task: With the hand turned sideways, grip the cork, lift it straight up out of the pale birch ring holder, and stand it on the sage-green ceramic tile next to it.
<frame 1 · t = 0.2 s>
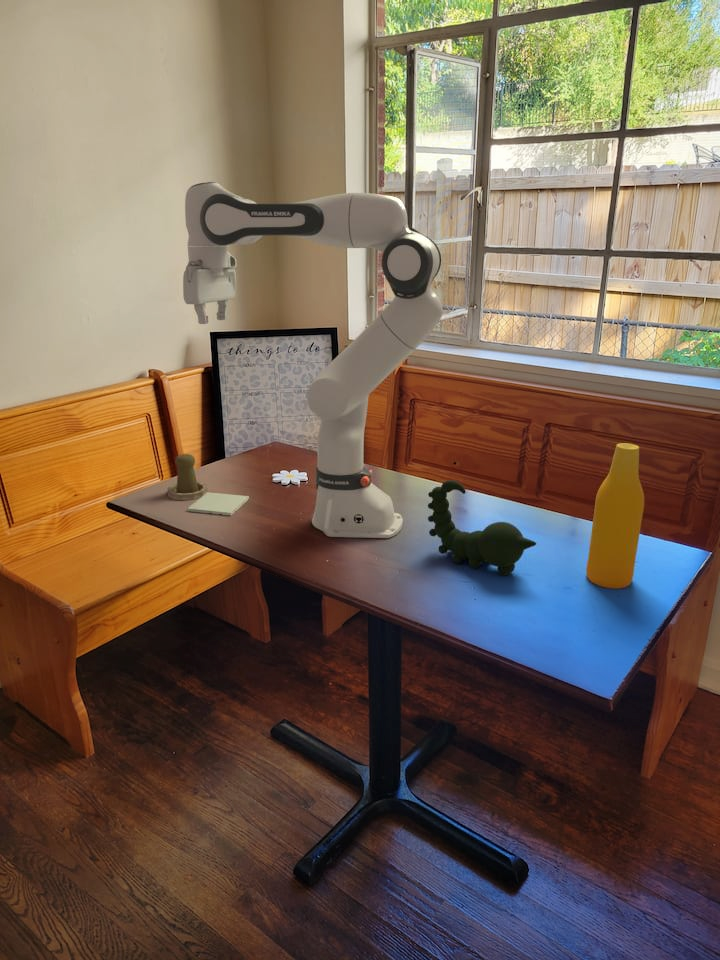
hand: (212, 321, 161), 48 cm above the table, tool pointing down, fingers open, 8 cm apart
ring holder: (187, 493, 189), on the table
ceramic tile: (219, 504, 181), on the table
toy figurine: (478, 565, 150), on the table
cork: (187, 493, 189), resting in ring holder
beer bottle: (608, 579, 144), on the table
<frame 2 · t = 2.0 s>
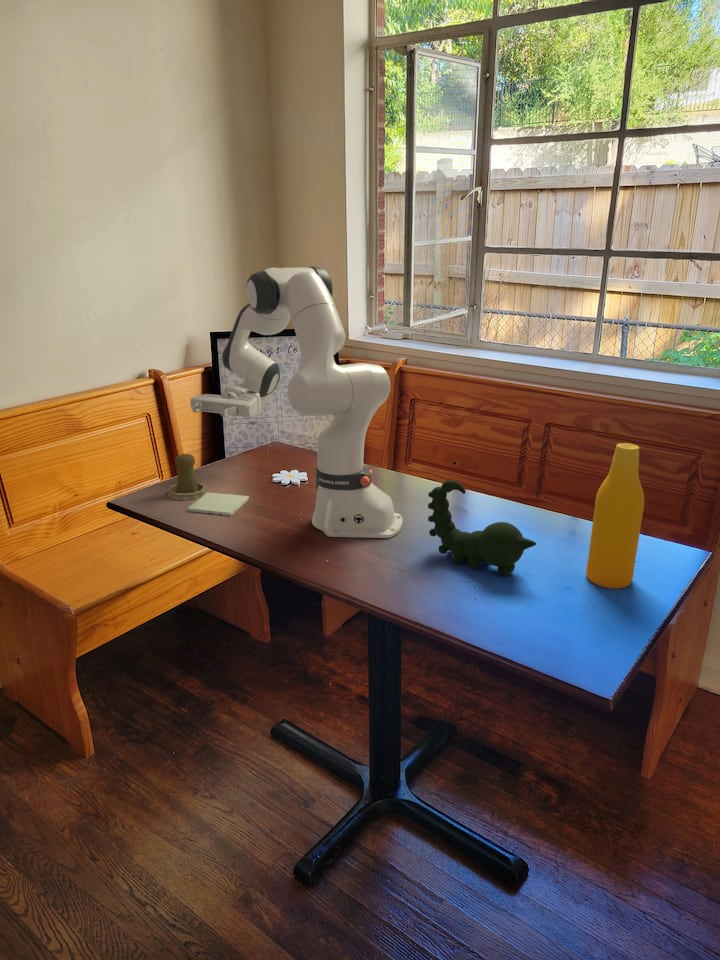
hand: (208, 411, 193), 20 cm above the table, tool horizontal, fingers open, 8 cm apart
nothing on the table moved.
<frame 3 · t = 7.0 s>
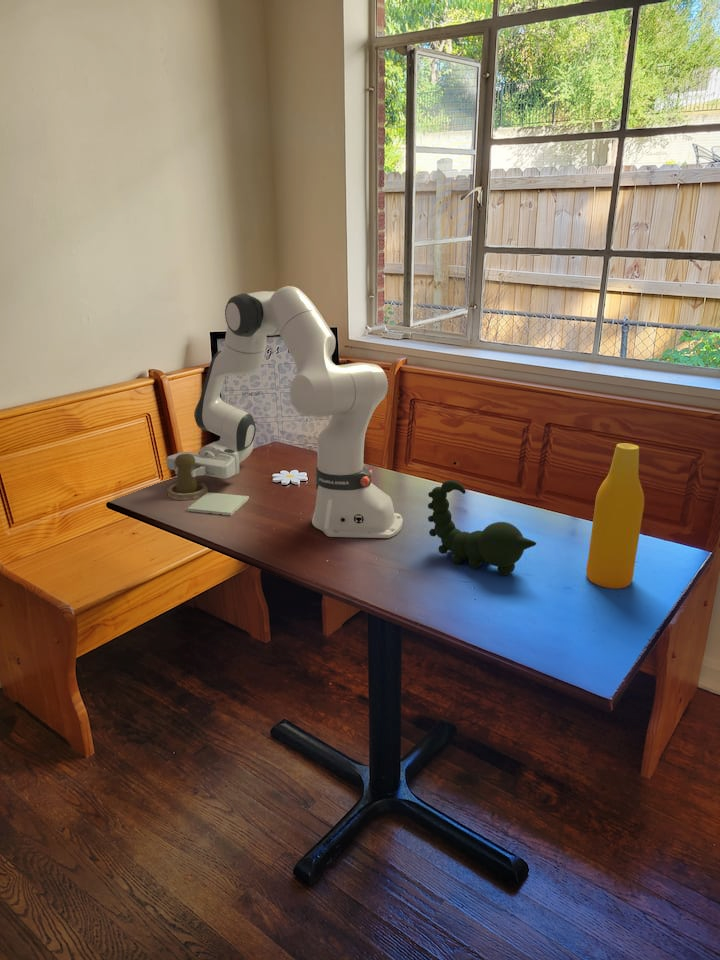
hand: (183, 473, 186), 6 cm above the table, tool horizontal, fingers closed on cork, 3 cm apart
cork: (187, 493, 189), resting in ring holder, touching gripper
everything else where it was.
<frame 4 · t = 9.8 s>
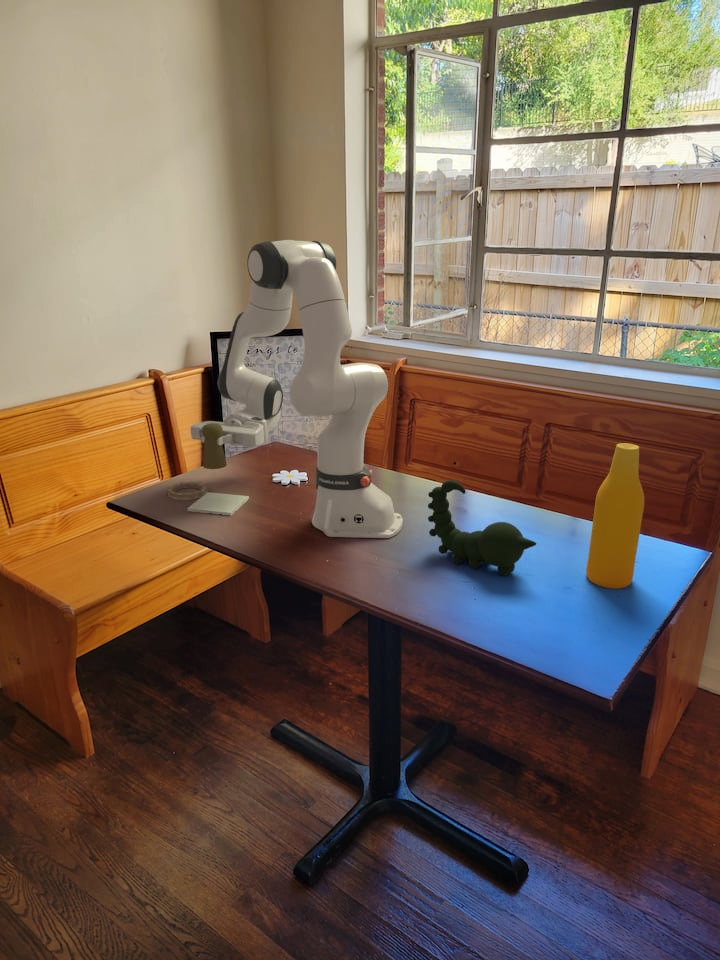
hand: (210, 441, 175), 18 cm above the table, tool horizontal, fingers closed on cork, 3 cm apart
cork: (215, 466, 178), point 11 cm above the table, touching gripper
everything else where it was.
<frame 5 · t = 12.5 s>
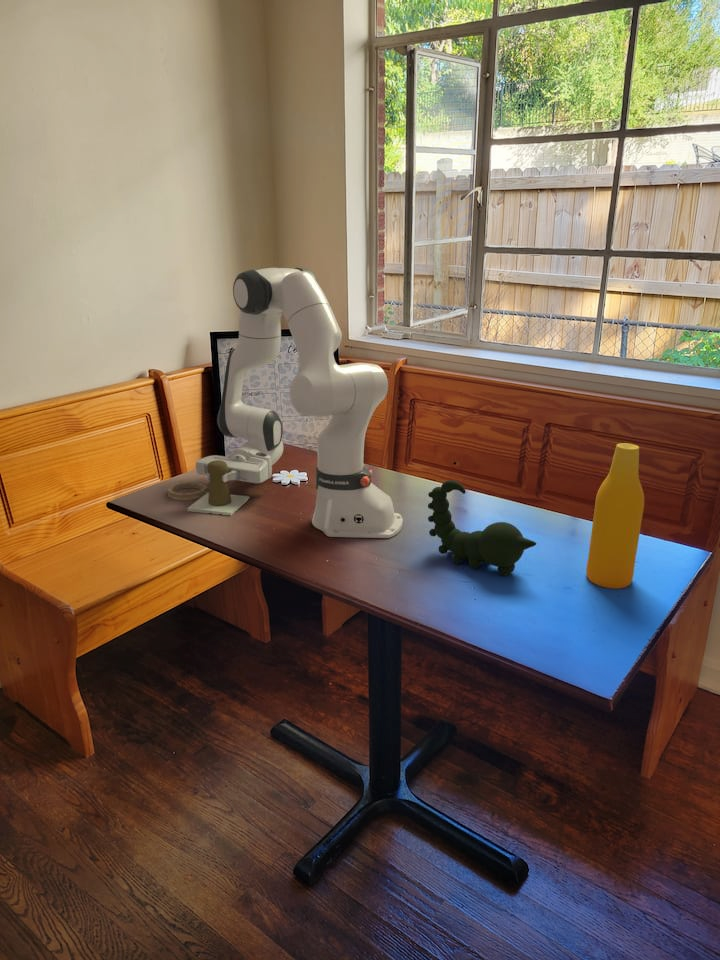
hand: (215, 478, 178), 8 cm above the table, tool horizontal, fingers closed on cork, 2 cm apart
cork: (220, 502, 181), point 1 cm above the table, touching gripper
everything else where it was.
when the fingers open (8 cm above the table, at t = 12.8 s): cork moves 2 cm, resting on ceramic tile.
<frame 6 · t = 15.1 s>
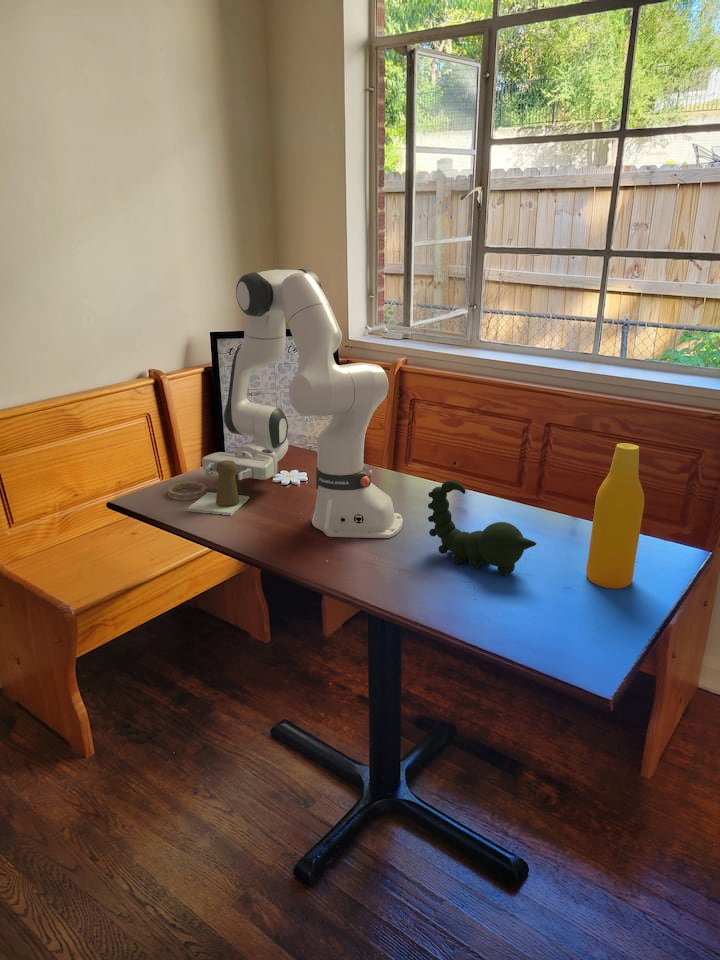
hand: (221, 474, 180), 8 cm above the table, tool horizontal, fingers open, 8 cm apart
cork: (227, 502, 180), point 1 cm above the table, touching ceramic tile
everything else where it was.
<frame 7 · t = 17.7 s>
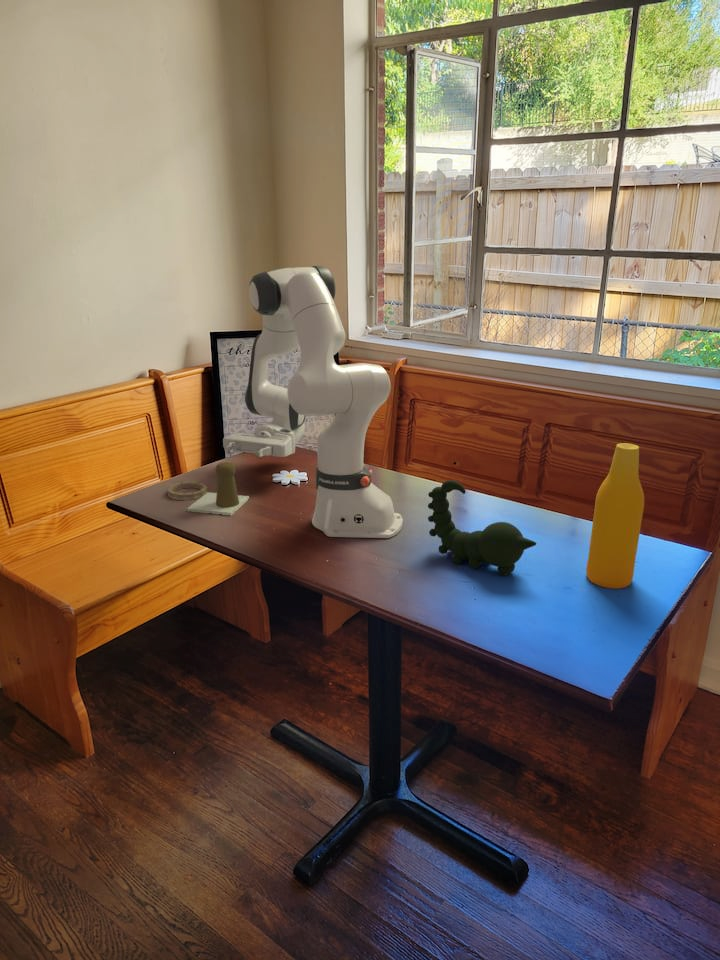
hand: (242, 452, 187), 11 cm above the table, tool horizontal, fingers open, 8 cm apart
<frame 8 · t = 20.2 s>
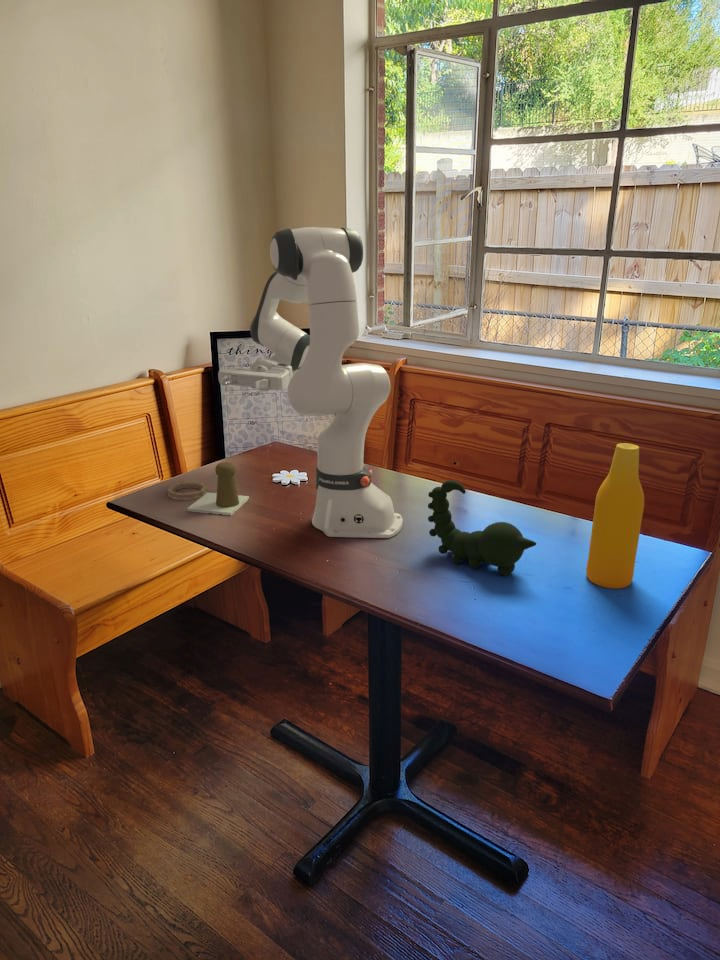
hand: (238, 384, 181), 30 cm above the table, tool horizontal, fingers open, 8 cm apart
nothing on the table moved.
at the end: cork inside the target area on the ceramic tile (2.6 cm from its centre), point 0.6 cm above the ceramic tile's base; cork tilted 0°; the gripper is holding nothing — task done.
